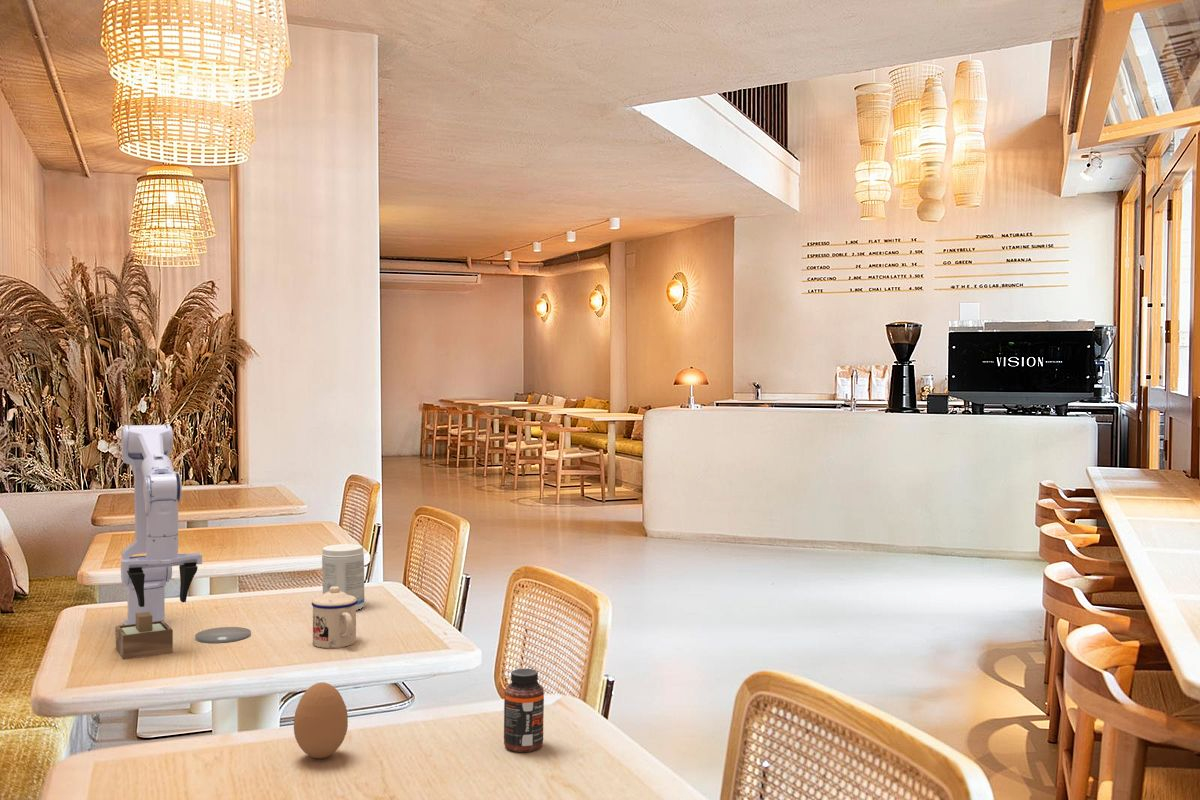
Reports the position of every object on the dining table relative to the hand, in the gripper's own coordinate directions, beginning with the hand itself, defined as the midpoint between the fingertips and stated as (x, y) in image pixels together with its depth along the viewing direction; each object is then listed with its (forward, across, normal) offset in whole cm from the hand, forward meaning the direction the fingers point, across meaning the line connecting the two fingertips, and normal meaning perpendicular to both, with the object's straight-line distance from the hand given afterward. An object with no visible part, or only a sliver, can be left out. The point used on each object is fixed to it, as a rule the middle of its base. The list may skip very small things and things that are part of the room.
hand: (162, 603), depth 202 cm
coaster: (+10, +14, +8) cm, 19 cm away
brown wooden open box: (+10, -2, +5) cm, 11 cm away
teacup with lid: (+10, +31, -12) cm, 35 cm away
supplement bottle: (+10, +35, -82) cm, 89 cm away
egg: (+10, +8, -69) cm, 70 cm away
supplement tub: (+10, +44, +18) cm, 48 cm away
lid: (+6, -2, +5) cm, 8 cm away
